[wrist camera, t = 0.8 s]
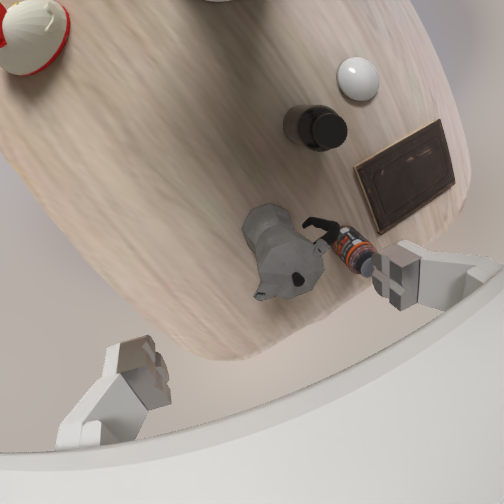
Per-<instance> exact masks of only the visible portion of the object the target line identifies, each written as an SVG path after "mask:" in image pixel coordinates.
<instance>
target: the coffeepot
mask: <svg viewBox="0 0 504 504" xmlns="http://www.w3.org/2000/svg"><path fill="white" fill-rule="evenodd" d="M310 225H313V226H314V227H316V228H321V229H323V230H325V231H328V232H327V233H326V234H325V235H323V236H322V237H320V238H319V239H318V240H316V241H315V242H314V243H312V242H311V241H309V240H308V239H306V238H305V237H304V236H302V235H301V234H299V233H298V232H295V229H294V226H293V223H292V221H291V218H290V215H289V213H288V211H287V210H285V209H283V208H281V207H279V206H276V205H274V204H271V203H269V204H266V205H263V206H260V207H257V208H255V209H253V210H251V211H250V213H249V215H248V216H247V218H246V220H245V222H244V225H243V226H242V231H243V233H244V236H245V239H246V241H247V244H248V246H249V247H250V248H251V249H252V250H253V252H254V253H255V254H256V257H257V266H258V272H259V275H260V278H261V281H260V284H259V287H258V289H257V291H256V292H255V294H254V296H253V297H254V298H255V299H257V300H259V301H263V300H267V299H269V298H272V297H274V296H279V297H282V298H285V299H290V298H293V297H295V296H298V295H300V294H303V293H305V292H308V291H310V290H312V288H313V287H314V285H315V284H316V282H317V281H318V279H319V277H320V276H321V274H322V273H323V271H324V270H325V269H324V265H323V260H322V256H321V255H322V254H323V253H324V252H325V251H327V250H328V249H329V247H328V246H329V245H331V244H333V243H334V242H335V241H336V240H337V239H338V236H339V232H340V225H339V224H338V223H337V222H334V221H329V220H324V219H320V218H315V217H309V218H308V219H307V220H306V221H305V222H304V223H303V224H302V227H303V228H306V227H308V226H310Z"/></svg>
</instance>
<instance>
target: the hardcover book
mask: <svg viewBox="0 0 504 504" xmlns="http://www.w3.org/2000/svg"><path fill="white" fill-rule="evenodd" d="M353 167H354V169H355V172H356V174H357V177H358V179H359V182H360V184H361V187H362V189H363V192H364V194H365V197H366V200H367V202H368V205H369V208H370V210H371V213H372V216H373V219H374V221H375V224H376V227H377V230H378V232H377V233H379V234H380V235H382V234H383V233H385V232H386V231H388V230H389V229H391V228H392V227H394V226H395V225H397V224H398V223H400V222H401V221H403V220H404V219H406V218H407V217H408V216H410V215H411V214H413V213H414V212H416V211H417V210H419V209H420V208H422V207H423V206H424V205H426V204H427V203H429V202H430V201H432V200H433V199H434V198H436V197H437V196H439V195H440V194H441V193H443V192H444V191H446V190H447V189H448V188H450V187H451V186H453V185H454V184H455V177H454V172H453V168H452V163H451V158H450V154H449V150H448V146H447V142H446V138H445V134H444V130H443V127H442V123H441V120H440V119H438V120H434V121H432V122H430V123H429V124H427V125H425V126H423V127H421V128H420V129H418V130H416V131H414V132H413V133H411V134H409V135H407V136H405V137H404V138H402V139H400V140H398V141H397V142H395V143H393V144H391V145H390V146H388V147H386V148H384V149H383V150H381V151H379V152H377V153H376V154H374V155H372V156H370V157H369V158H367V159H365V160H364V161H362V162H360V163H358V164H357V165H355V166H353Z"/></svg>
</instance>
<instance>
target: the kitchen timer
mask: <svg viewBox="0 0 504 504" xmlns="http://www.w3.org/2000/svg"><path fill="white" fill-rule="evenodd" d="M69 32H70V18H69V14H68V12H67V11H66V9H65V8H64V7H63V6H61V5H60V4H58V3H56V2H55V1H52V0H27V1H23V2H20V3H18V2H16V3H15V4H14V5H13V6H12V7H10V8H9V9H7V10H6V9H5V8H4V6H3V5H2V4H1V3H0V67H2V68H3V69H4V70H6V71H7V72H9V73H11V74H16V75H22V76H26V75H32V74H35V73H37V72H39V71H41V70H43V69H44V68H46V67H47V66H48V65H50V64H51V63H52V62H53V61H54V60H55V58H56V57H57V56H58V55H59V54H60V52H61V50H62V49H63V47H64V45H65V44H66V41H67V38H68V35H69Z"/></svg>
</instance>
